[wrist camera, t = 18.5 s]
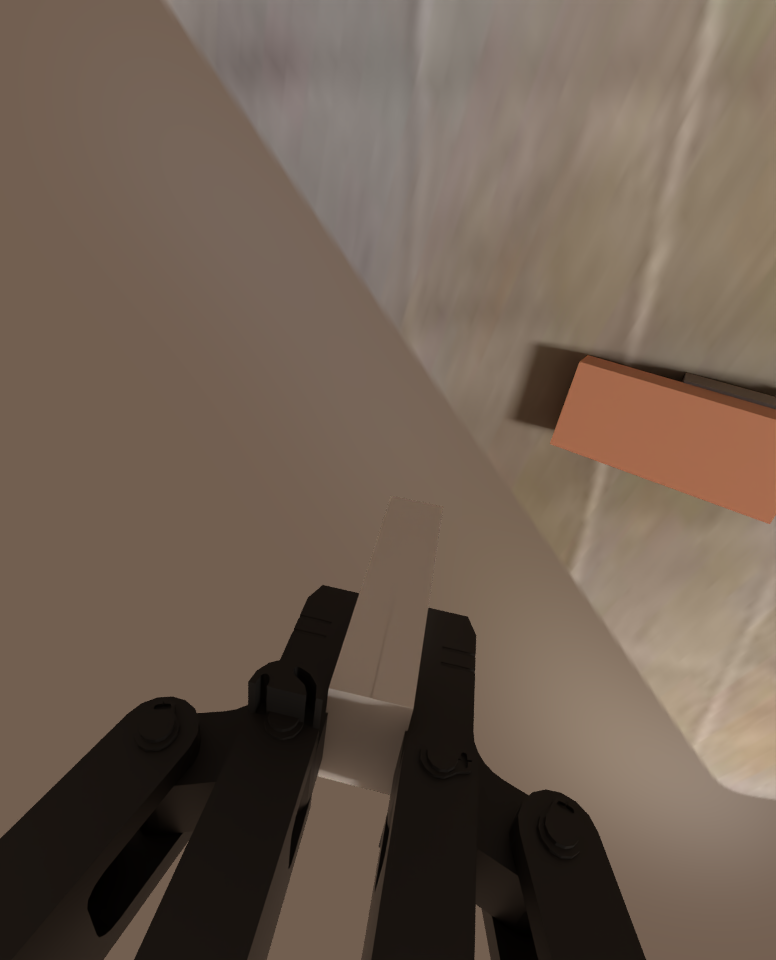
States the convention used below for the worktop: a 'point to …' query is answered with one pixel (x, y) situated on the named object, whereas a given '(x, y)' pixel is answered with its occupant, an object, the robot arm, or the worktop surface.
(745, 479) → the domino
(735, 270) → the worktop surface
